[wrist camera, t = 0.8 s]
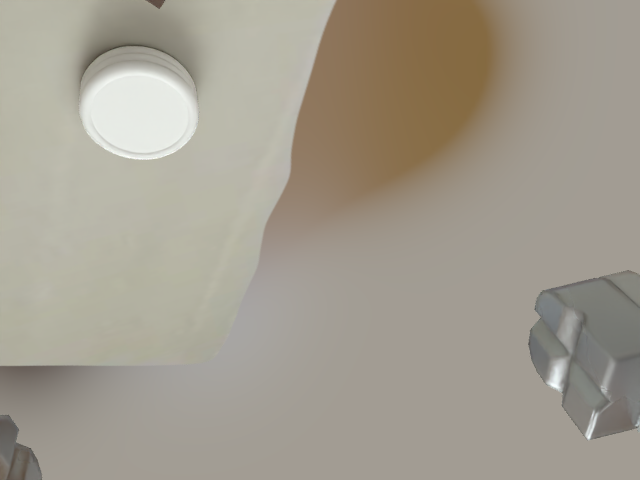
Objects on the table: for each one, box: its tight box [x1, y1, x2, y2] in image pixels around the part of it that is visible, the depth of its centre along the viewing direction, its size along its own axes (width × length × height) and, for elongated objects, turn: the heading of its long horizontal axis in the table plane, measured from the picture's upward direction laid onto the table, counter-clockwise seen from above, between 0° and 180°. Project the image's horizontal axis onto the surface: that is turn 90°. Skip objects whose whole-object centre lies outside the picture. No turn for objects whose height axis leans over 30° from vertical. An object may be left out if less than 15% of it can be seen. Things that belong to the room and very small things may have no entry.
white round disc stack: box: [79, 46, 199, 160], centre depth 50 cm, size 10×10×4 cm
